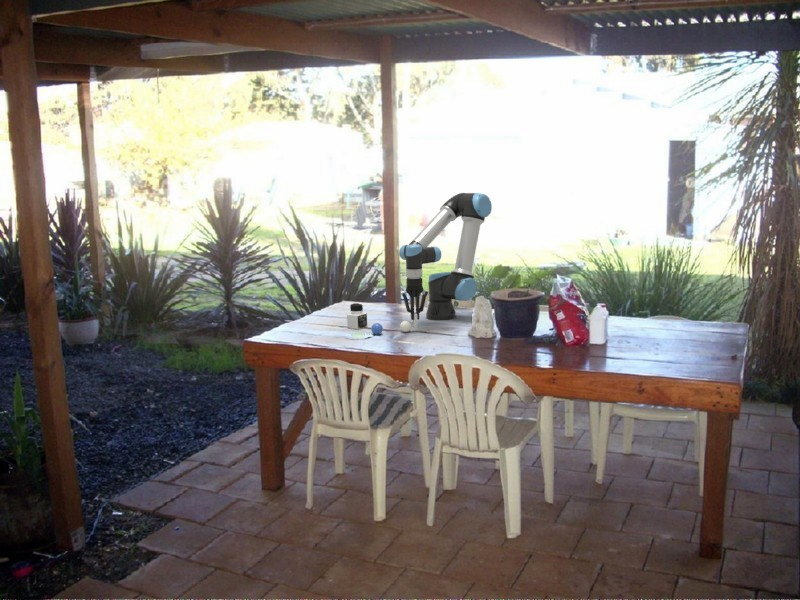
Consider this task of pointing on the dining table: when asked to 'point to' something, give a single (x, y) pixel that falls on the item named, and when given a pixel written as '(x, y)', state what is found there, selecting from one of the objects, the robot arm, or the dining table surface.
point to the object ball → (376, 328)
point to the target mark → (360, 335)
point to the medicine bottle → (356, 317)
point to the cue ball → (405, 326)
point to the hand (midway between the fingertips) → (415, 326)
